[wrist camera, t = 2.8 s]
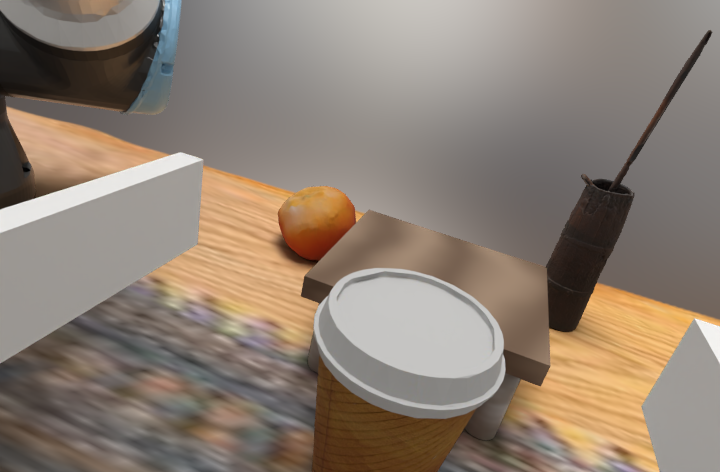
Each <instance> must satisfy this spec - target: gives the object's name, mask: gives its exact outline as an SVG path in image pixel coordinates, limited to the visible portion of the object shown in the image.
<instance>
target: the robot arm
mask: <svg viewBox="0 0 720 472" xmlns="http://www.w3.org/2000/svg"><path fill="white" fill-rule="evenodd" d="M180 13H181V0H0V363H2V362H3V361H5V360H7V359H8V358H10V357H12V356H13V355H15V354H17V353H18V352H20V351H22V350H23V349H25V348H27V347H28V346H30V345H31V344H33V343H35V342H36V341H38V340H40V339H41V338H43V337H45V336H46V335H48V334H50V333H51V332H53V331H55V330H56V329H58V328H60V327H61V326H63V325H65V324H66V323H68V322H70V321H71V320H73V319H75V318H76V317H78V316H79V315H81V314H83V313H84V312H86V311H88V310H89V309H91V308H93V307H94V306H96V305H98V304H99V303H101V302H103V301H104V300H106V299H108V298H109V297H111V296H113V295H114V294H116V293H118V292H119V291H121V290H123V289H124V288H126V287H128V286H129V285H131V284H132V283H134V282H136V281H137V280H139V279H141V278H142V277H144V276H146V275H147V274H149V273H151V272H152V271H154V270H156V269H157V268H159V267H161V266H162V265H164V264H166V263H167V262H169V261H171V260H172V259H174V258H176V257H177V256H179V255H180V254H182V253H184V252H185V251H187V250H189V249H190V248H192V247H194V246H195V245H197V244H198V230H199V216H200V202H201V187H202V173H203V159H199V158H197V157H194V156H190V155H188V154H184V153H181V152H180V153H177V154H174V155H170V156H167V157H164V158H161V159H158V160H155V161H151V162H148V163H145V164H142V165H139V166H136V167H133V168H129V169H126V170H123V171H120V172H117V173H114V174H110V175H107V176H104V177H101V178H98V179H95V180H92V181H88V182H85V183H82V184H79V185H76V186H73V187H70V188H66V189H63V190H60V191H57V192H54V193H51V194H47V195H44V196H41V197H38V198H35V199H33V198H34V196H35V193H36V189H35V178H34V172H33V168H32V166H31V164H30V163H29V161H28V158H27V156H26V154H25V152H24V150H23V148H22V146H21V144H20V142H19V140H18V138H17V136H16V134H15V132H14V130H13V128H12V126H11V124H10V122H9V119H8V116H7V110H6V101H5V96H11V97H19V98H26V99H34V100H41V101H48V102H55V103H63V104H70V105H77V106H85V107H92V108H99V109H107V110H114V111H119V112H120V113H122V114H130V113H138V114H151V115H153V114H158V113H160V112H162V111H163V110H164V109H165V108H166V107H167V104H168V101H169V96H170V90H171V83H172V76H173V66H174V60H175V55H176V48H177V40H178V32H179V23H180ZM642 410H643V414H644V417H645V421H646V424H647V428H648V431H649V435H650V438H651V442H652V445H653V449H654V452H655V456H656V459H657V463H658V467H659V470H660V472H720V326H717V325H713V324H710V323H707V322H704V321H701V320H698V319H695V318H694V320H693V321H692V323H691V325H690V326H689V328H688V330H687V331H686V333H685V335H684V336H683V338H682V340H681V341H680V343H679V345H678V346H677V348H676V350H675V351H674V353H673V355H672V356H671V358H670V360H669V361H668V363H667V365H666V366H665V368H664V370H663V371H662V373H661V375H660V376H659V378H658V380H657V381H656V383H655V385H654V386H653V388H652V390H651V392H650V393H649V395H648V397H647V398H646V400H645V402H644V403H643V405H642Z"/></svg>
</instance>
